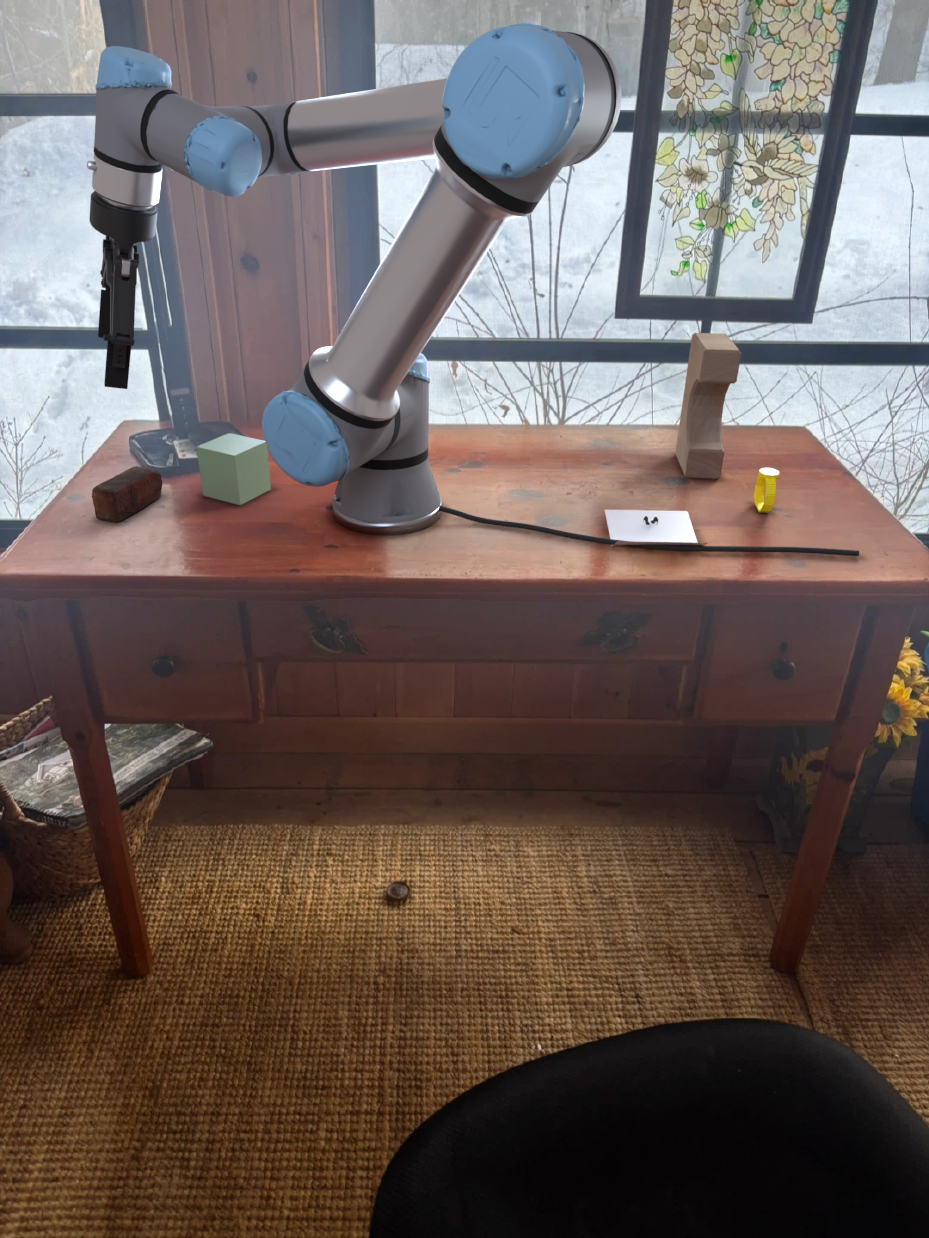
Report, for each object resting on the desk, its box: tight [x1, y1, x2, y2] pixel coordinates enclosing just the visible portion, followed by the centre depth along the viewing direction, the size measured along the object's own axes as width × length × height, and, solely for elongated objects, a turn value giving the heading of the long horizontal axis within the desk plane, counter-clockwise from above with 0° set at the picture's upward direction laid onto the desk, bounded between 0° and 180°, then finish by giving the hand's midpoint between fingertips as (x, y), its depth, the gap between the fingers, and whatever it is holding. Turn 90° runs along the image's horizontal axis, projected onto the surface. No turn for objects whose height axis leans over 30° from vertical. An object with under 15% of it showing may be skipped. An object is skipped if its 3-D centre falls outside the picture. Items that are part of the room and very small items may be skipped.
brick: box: [91, 466, 163, 523], centre depth 128 cm, size 11×4×5 cm, turn 162°
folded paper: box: [604, 509, 708, 547], centre depth 124 cm, size 12×12×2 cm
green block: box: [195, 432, 272, 506], centre depth 133 cm, size 7×7×8 cm
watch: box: [753, 467, 780, 514], centre depth 132 cm, size 6×3×6 cm, turn 177°
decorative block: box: [674, 332, 742, 480], centre depth 142 cm, size 11×6×20 cm, turn 176°
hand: (112, 361), depth 121 cm, fingers open, 13 cm apart
